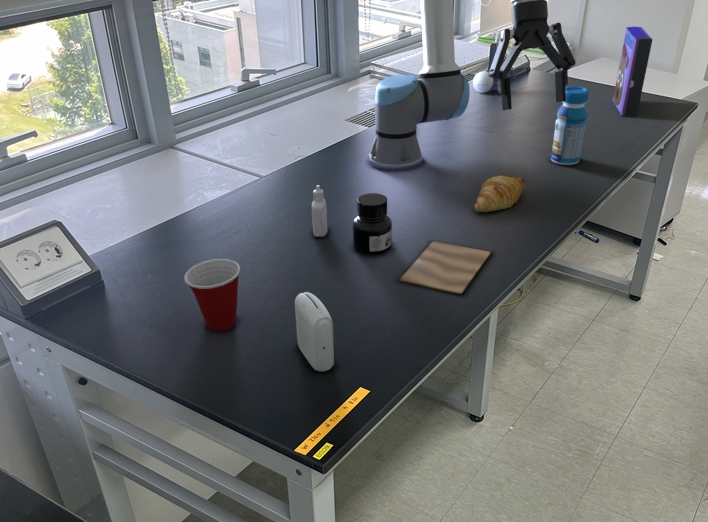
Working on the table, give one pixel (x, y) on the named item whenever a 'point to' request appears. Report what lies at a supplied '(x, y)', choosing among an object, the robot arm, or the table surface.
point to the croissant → (499, 193)
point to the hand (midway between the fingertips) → (534, 106)
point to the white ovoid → (482, 82)
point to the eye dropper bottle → (319, 213)
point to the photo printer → (314, 331)
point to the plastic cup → (215, 291)
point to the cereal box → (632, 71)
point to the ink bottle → (372, 225)
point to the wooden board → (446, 267)
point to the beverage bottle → (570, 127)
